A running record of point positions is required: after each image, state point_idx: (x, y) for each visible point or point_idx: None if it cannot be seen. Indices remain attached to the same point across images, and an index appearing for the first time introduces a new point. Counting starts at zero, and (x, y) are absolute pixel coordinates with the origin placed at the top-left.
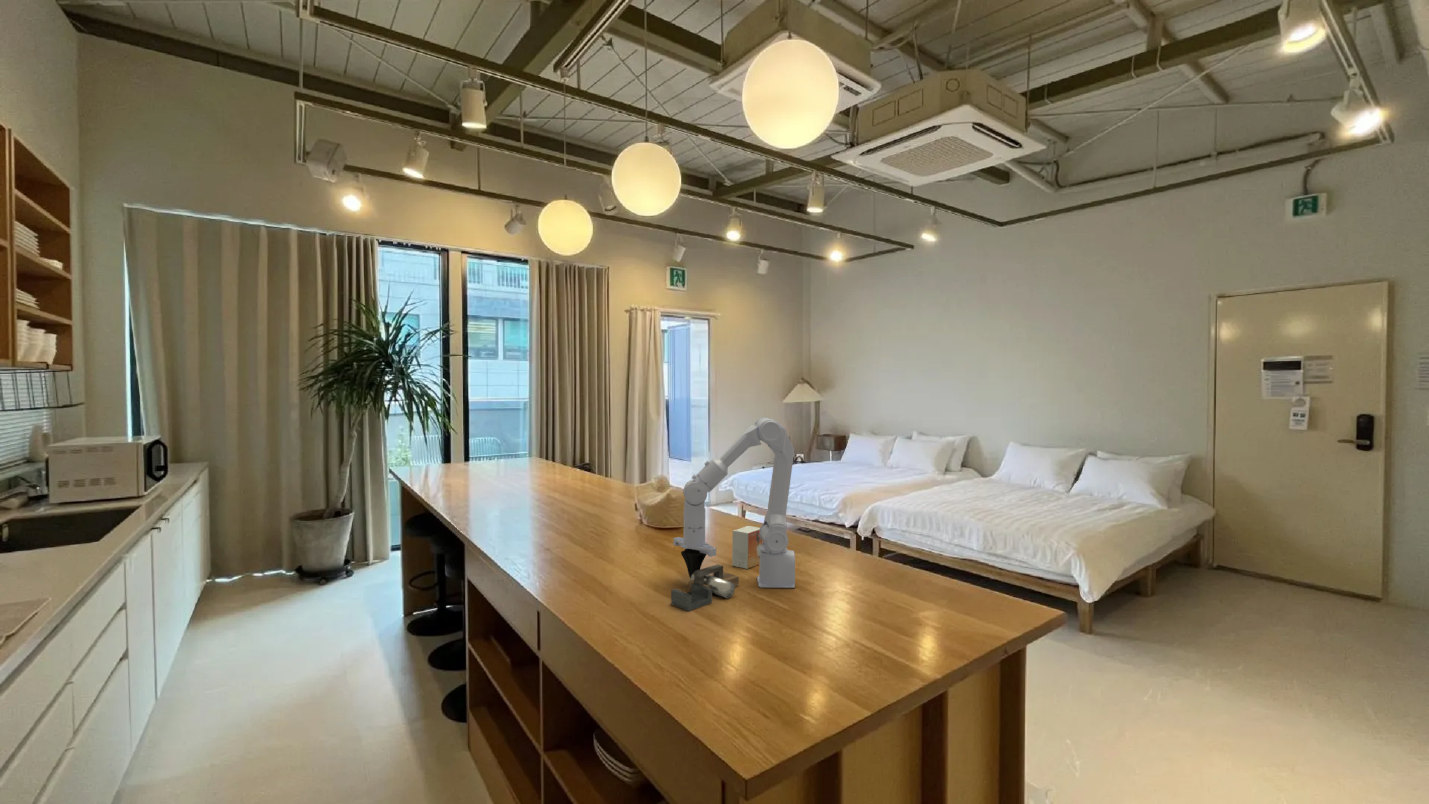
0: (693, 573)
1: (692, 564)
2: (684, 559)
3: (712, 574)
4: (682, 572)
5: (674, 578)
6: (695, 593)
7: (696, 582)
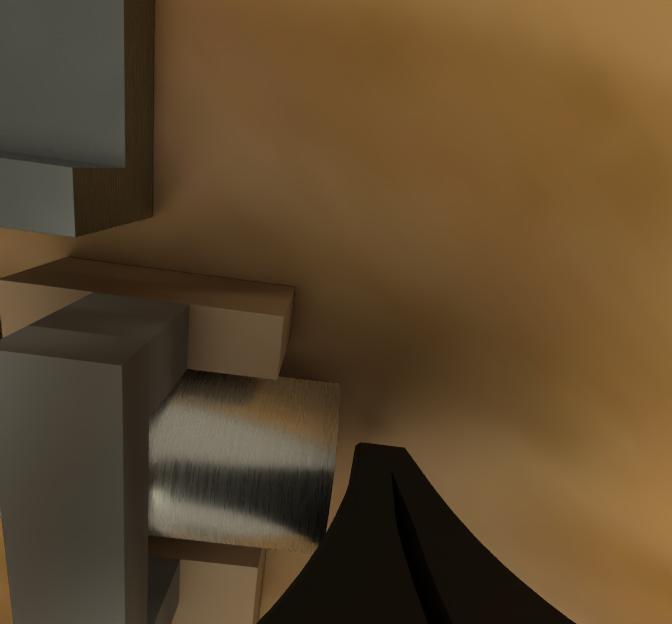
0: (325, 465)
1: (326, 545)
2: (535, 599)
3: (244, 605)
4: (632, 585)
5: (612, 450)
6: (43, 144)
7: (142, 305)
